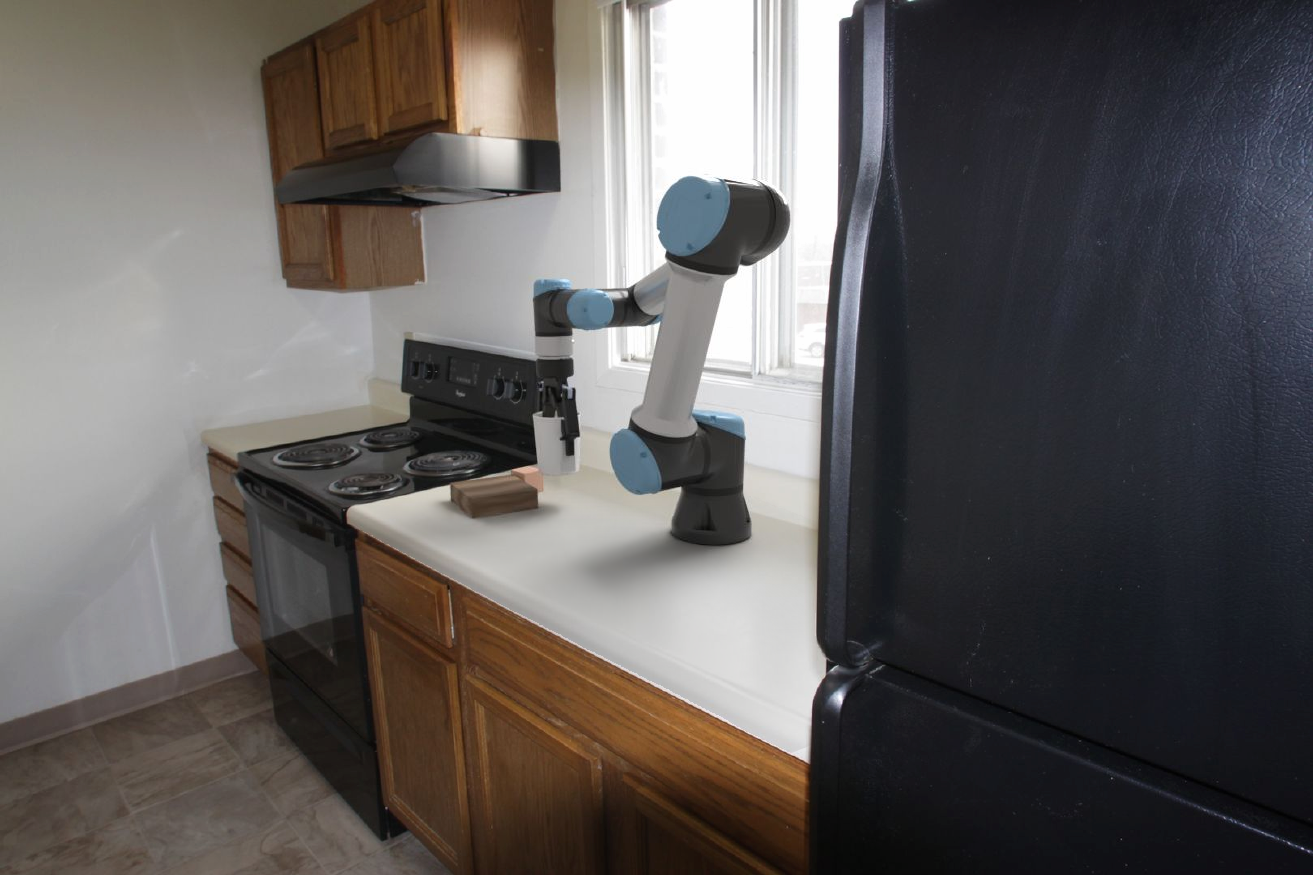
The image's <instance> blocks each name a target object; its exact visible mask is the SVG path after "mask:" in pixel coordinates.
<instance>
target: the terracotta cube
mask: <svg viewBox="0 0 1313 875" xmlns="http://www.w3.org/2000/svg"><path fill="white" fill-rule="evenodd" d="M512 474H513V475H514V476H516V477H518V478H519V479H521V480H523V481H524V482H526V483H528V484H530V485H531V486H533V487H535V488H536V489H538V494H539V493H543V492H544V475H543V474H541V473H539V470H538V467H534V466H531V465H528V466H523V467H517V468H514V469H510V475H512Z"/></svg>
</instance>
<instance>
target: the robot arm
mask: <svg viewBox="0 0 1313 875" xmlns="http://www.w3.org/2000/svg"><path fill="white" fill-rule="evenodd" d="M790 226H791V210H790V205H789V203H788V202H787V200H786V197H785V196H784V194H783V193H782V192H781V190H779V189H778V188H777V187H776V186H775V185H773V184H771V183H770V182H767V181H764V180H761V179H753V178H739V177H732V176H723V175H715V174H711V173H707V174H701V175H700V174H691V175H686V176H683V177H680V178H679V179H678V180H677V181H676V182H675V183H673V184H671V186H669V188H668V189H667V190H666V192H665V194H664V195H663V197H662V198H661V201H660V204H659V206H658V210H657V214H656V229H657V230H658V231H659V233H658V236H657V237H658V239H659V242H660V244H661V245H662V247H663V248H664V249H665V254H664V259H665V260H666V261H665V262H664V263H663V264H662V265H661V266H659V267H658V268H656V269H653V271H652V272H650V273H649V274H647V275H646V276H644V277H642V279H640V280H639V281H637V282H636V283H634V284H632V285H631V286H629V287H619V288H617V287H616V288H573V289H572V283H571V281H570V280H569V279H568V278H549V279H548V278H547V279H546V278H545V279H544V278H543V279H542V278H541V279H536V280H535V281H534V282H533V296H532V305H533V322H534V354H535V356H536V357H538V358H536V360H535V367H536V368H535V370H536V376H537V377H538V378H542V379H543V381H538V382H536V390H537V394H536V395H537V396H536V397H537V398H536V413H537V412H542V417H544V418H554V417H555V412H556V411H557V416H558V418H561V417H564V420H562V419H561V433H562V437H561V438H560V441H561V469H562V472H569V471H575V442H574V439H576V438H577V437H580V438H581V429H580V430H579V422H578V414H577V412H578V408H577V400H576V399H577V398H576V396H577V388H576V387H569V382H568V378H571V377H573V376H574V373H575V371H574V370H575V367H574V362H575V361H574V358H573V357H571V356H572V355H574V347H573V346H574V344H575V339H574V338H573V333H574V332H573V329H575V330H576V329H577V330H583V331H586V332H588V331H596V330H601V329H607V328H609V329H610V328H611V329H612V328H628V327H629V328H630V327H631V328H633V327H644V328H645V327H648V326H653V325H654V326H655V325H657V324H659V327H658V331H657V335H656V339H655V345H654V350H653V355H652V359H651V363H650V367H649V373H648V376H647V382H646V387H645V391H644V396H643V400H642V403H641V404H639V405H638V406H636V407H634V408H633V409H632V410H631V412H630V417H629V422H628V427H627V428H621V429H620V430H618V431H617V432H615V433H614V434H613V435H612V437H611V439H610V443H609V460H610V464H611V467H612V470H613V473H614V475H615V477H616V479H617V481H618V482H619V483H620V484H621V486H622V487H623V488H624V489H625V490H626V491H628V492H629V493H631V494H633V495H638V496H642V495H643V496H644V495H650V494H651V495H656V494H658V493H660V492H664V491H667V490H668V491H669V490H672V489H677V488H680V493H679V497H678V499H677V500H678V501H677V503H676V505H675V506H676V507H675V509H674V513H673V516H672V517H671V523H670V524H671V525H670V526H671V529H670V530H671V534H672V535H673V536H674V537H676V538H678V539H679V540H682V541H685V542H688V543H692V544H699V545H718V546H719V545H730V544H735V543H739V542H743V541H745V540H747V539H748V538H750V537H751V536H752V529H753V528H752V524H753V523H752V519H751V516H750V513H749V512H750V511H749V509H748V505H747V502H746V498H745V495H744V480H745V479H744V478H745V476H744V475H745V456H746V455H745V452H746V450H745V449H746V439H747V438H746V434H745V432H746V430H745V422H744V420H743V418H742V417H741V416H740V415H737V414H735V413H729V412H724V411H716V410H710V409H709V410H706V409H698V408H697V409H694V406H695V404H696V400H697V395H698V390H699V386H700V385H701V384H700V382H701V380H702V375H703V371H704V366H705V363H706V360H707V355H708V350H709V346H710V344H711V340H712V335H713V331H714V327H715V323H716V319H717V316H718V311H719V308H720V303H721V299H722V295H723V291H724V288H725V283H726V282H727V281H729V280H730V279H732V278H734V277H735V276H737V275H738V272H739V267H741V266H742V267H749V266H750V267H751V266H753V265H754V264H756V263H758V262H760V261H761V260H763V259H765V258H766V257H768V256H770V255H771V254H772V253H775V251H777V250H778V248H780V246H781V245H782V244H783V242H784V241H785V240H786V238H787V235H788V233H789V230H790Z"/></svg>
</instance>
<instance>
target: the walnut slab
mask: <svg viewBox="0 0 1313 875" xmlns="http://www.w3.org/2000/svg"><path fill="white" fill-rule="evenodd" d="M449 490H450V493H449V494H450V501H451V503H453V504H454V505H455V506H457V507H458V508H459V509H460V510H461V511H463V512H464V513H465V514H467V515H468V516H469V517H470V518H471V519H475V518H477V519H478V518H481V517H482V518H483V517H489V516H490V517H491V516H496V515H502V514H508V513H514V512H520V511H527V510H528V511H529V510H532V509H534V510H535V509H538V508H539V493H538V489H536V488H535V487H533V486H531V485H530V484H528V483H526V482H524V481H523V480H521V479H519V478H518V477H516V476H514V475H513V474H512V475H511V474H506V475H499V476H498V475H497V476H491V477H490V476H489V477H483V478H478V479H469V480H468V479H467V480H462V481H461V480H459V481H454V482H449Z"/></svg>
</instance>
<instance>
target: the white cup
mask: <svg viewBox="0 0 1313 875" xmlns="http://www.w3.org/2000/svg"><path fill="white" fill-rule="evenodd" d="M577 414H578V422H579V430H580V431H581V427H582V426H581V425H582V424H581V422H582V413H581V412H580V411H577ZM561 419H562V420H564V417H561V418H558V416H557V411H556V412H555V417H554V418H544V417H542V412H537V411H536V412H534V413H533V414H532V421H533V428H534V429H533V430H534V441H535V448H536V449H535V450H536V458H537V459H536V460H537V468H538V470H539V473H541V474H543V476H544V475H545V476H550V477H551V476H552V477H553V476H554V477H555V476H556V477H557V476H558V477H559V476H560V477H561V476H570V475H573V474H574V475H575V474H577V473H578V472H579V471H580V461H581V460H580V459H581V457H580V455H581V454H580V453H581V436H580V437H577V438H576V439H574V442H575V471H569V472H562V469H561V441H560V438H561V437H562V433H561Z"/></svg>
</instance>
